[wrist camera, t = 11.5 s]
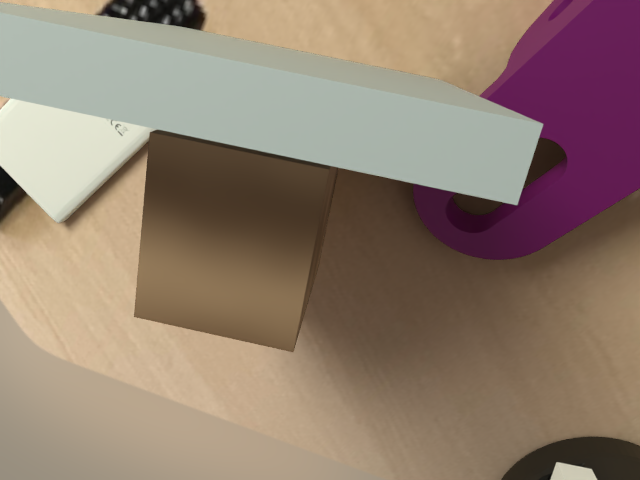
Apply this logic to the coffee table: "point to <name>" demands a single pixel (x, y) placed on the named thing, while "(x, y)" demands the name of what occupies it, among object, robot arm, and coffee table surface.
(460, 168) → the wall board
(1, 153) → the external hard drive
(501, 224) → the mounting bracket
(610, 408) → the coffee table surface
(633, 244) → the coffee table surface
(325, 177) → the cabinet
